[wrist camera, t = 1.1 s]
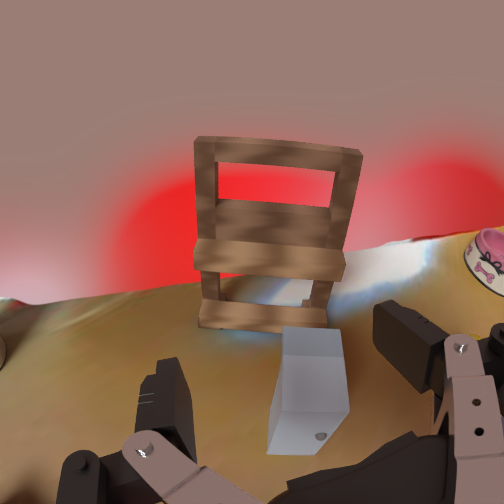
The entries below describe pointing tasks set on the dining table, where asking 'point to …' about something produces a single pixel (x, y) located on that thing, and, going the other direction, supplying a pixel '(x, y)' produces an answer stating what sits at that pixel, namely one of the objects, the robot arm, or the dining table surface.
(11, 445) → the dining table surface
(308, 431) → the cabinet
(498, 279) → the dog bowl
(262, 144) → the rack
